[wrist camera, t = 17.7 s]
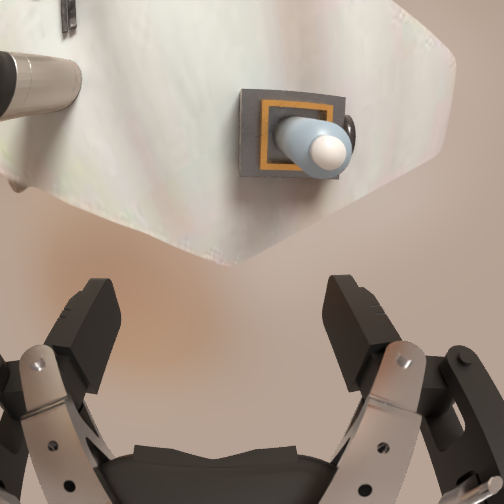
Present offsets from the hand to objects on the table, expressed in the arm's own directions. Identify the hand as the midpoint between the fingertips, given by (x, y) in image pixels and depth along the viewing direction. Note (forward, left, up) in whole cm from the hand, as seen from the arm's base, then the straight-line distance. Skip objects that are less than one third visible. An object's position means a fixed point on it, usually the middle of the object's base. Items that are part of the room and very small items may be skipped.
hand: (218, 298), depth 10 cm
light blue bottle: (+9, +3, -30) cm, 32 cm away
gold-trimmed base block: (+9, +3, -36) cm, 37 cm away
